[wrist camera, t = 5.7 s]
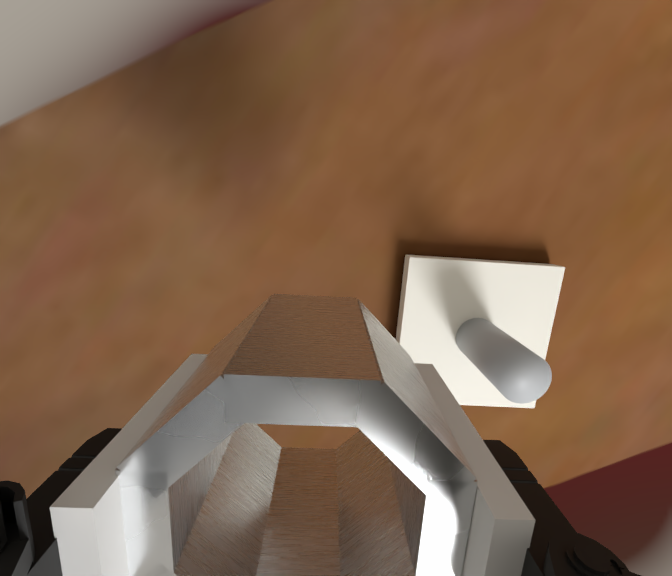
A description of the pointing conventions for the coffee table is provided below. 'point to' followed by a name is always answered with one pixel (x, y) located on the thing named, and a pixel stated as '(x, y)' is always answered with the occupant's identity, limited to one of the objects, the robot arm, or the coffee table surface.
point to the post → (481, 325)
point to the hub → (299, 458)
